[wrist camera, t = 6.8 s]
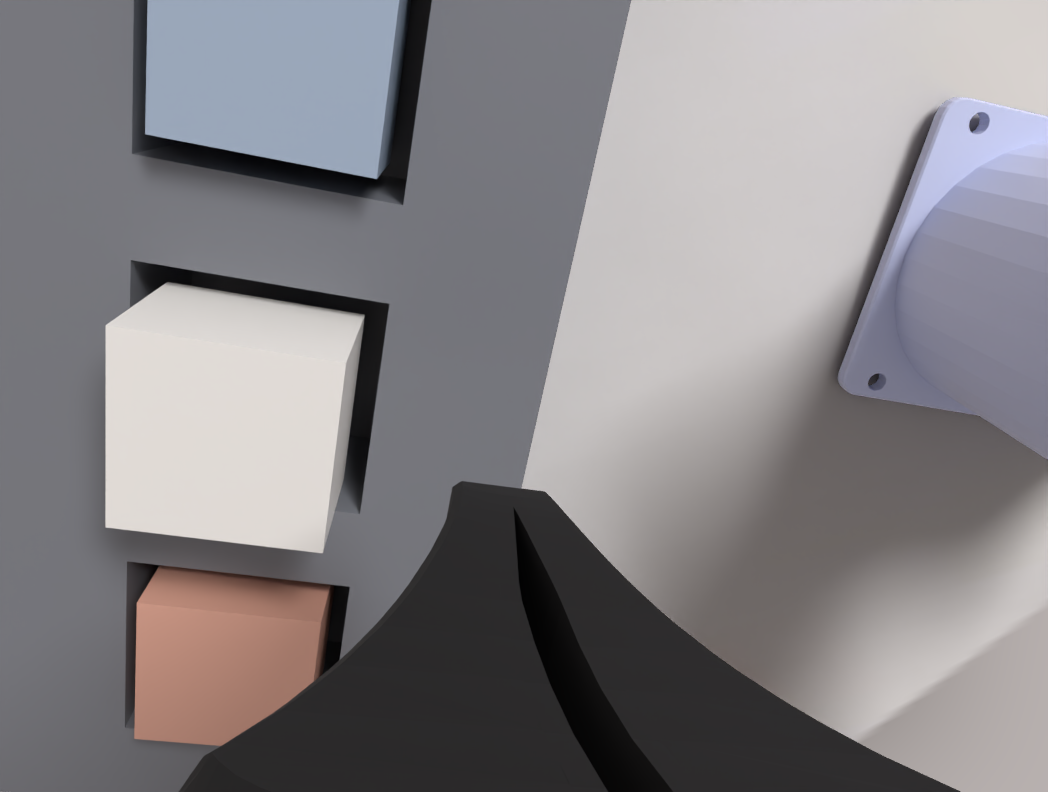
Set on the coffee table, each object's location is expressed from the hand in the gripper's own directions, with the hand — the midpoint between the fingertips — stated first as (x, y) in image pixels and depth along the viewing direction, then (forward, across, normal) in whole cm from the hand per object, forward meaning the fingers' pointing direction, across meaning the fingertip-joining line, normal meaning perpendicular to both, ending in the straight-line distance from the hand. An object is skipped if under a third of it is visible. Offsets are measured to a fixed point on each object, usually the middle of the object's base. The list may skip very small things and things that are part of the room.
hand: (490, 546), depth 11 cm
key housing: (+10, +4, +1) cm, 11 cm away
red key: (+8, +4, +8) cm, 12 cm away
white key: (+7, +5, +1) cm, 8 cm away
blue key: (+8, +4, -6) cm, 11 cm away
